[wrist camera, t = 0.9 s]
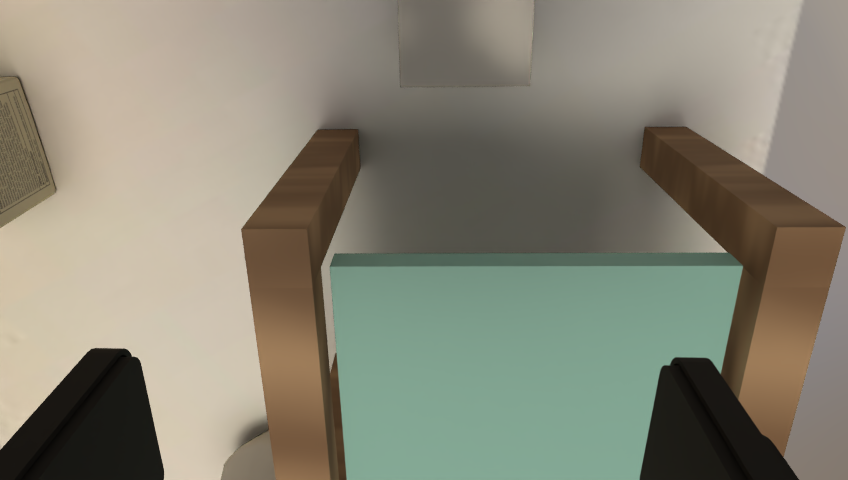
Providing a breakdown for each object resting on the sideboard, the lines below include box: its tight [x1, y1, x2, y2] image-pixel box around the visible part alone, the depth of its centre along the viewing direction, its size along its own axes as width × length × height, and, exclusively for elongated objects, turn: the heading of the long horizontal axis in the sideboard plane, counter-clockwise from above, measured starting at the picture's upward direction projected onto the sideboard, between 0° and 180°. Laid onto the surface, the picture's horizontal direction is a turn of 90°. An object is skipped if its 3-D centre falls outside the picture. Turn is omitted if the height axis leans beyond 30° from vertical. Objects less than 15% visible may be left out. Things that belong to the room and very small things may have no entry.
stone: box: [398, 0, 535, 87], centre depth 26 cm, size 5×5×6 cm
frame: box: [241, 127, 846, 480], centre depth 28 cm, size 15×18×13 cm
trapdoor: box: [330, 253, 743, 480], centre depth 23 cm, size 12×13×1 cm
